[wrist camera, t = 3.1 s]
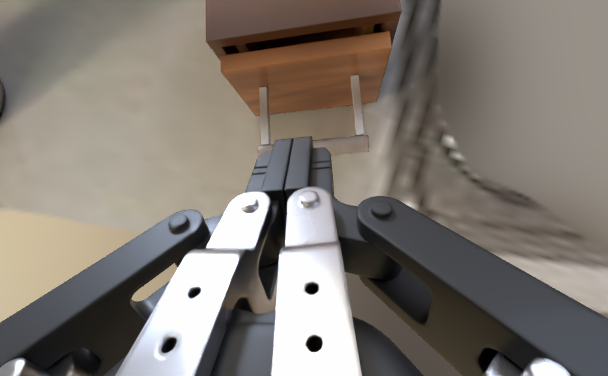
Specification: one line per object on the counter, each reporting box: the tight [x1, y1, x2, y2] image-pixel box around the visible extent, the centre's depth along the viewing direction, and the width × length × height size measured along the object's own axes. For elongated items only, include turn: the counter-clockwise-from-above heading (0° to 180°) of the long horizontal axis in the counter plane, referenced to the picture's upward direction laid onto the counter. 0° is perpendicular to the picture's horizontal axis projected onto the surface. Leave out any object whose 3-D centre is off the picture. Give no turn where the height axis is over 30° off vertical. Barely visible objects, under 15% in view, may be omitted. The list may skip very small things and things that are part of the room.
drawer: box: [221, 24, 392, 158], centre depth 23 cm, size 19×11×8 cm, turn 3°
